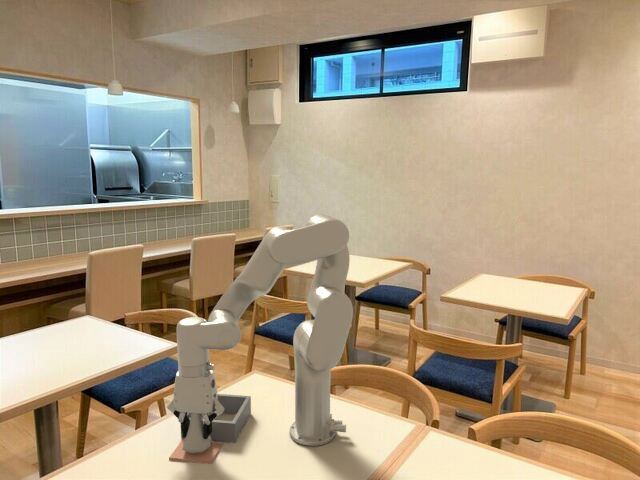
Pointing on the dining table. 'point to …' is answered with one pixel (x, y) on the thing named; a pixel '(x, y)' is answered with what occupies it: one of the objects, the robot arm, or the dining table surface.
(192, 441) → the flask
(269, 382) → the dining table surface
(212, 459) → the mat
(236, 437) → the box frame
